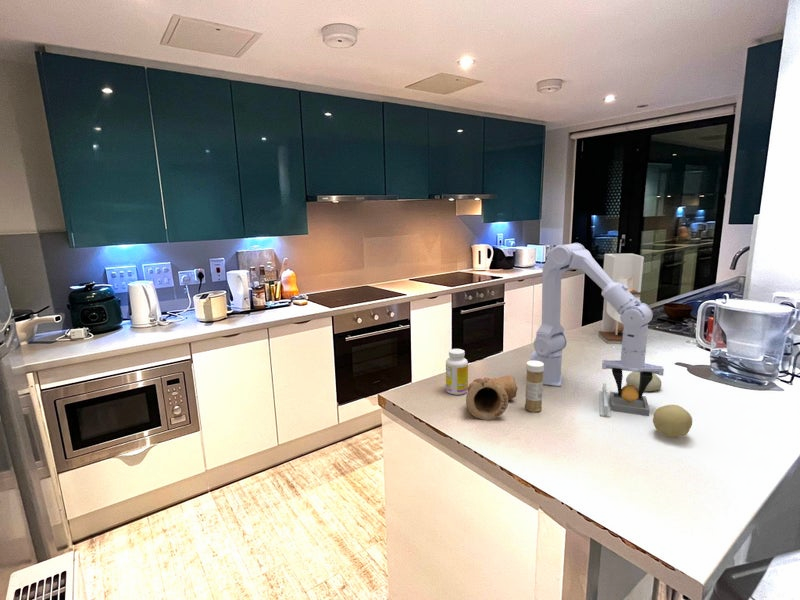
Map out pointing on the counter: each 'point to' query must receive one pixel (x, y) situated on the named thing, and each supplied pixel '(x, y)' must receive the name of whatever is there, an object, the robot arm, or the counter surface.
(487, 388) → the clay pipe
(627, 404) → the dish
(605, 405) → the divider
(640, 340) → the robot arm
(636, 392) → the ball
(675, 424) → the potato
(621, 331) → the tall curved cream stand
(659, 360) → the counter surface
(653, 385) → the sea urchin shell
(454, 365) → the supplement bottle
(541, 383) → the sprinkles bottle
